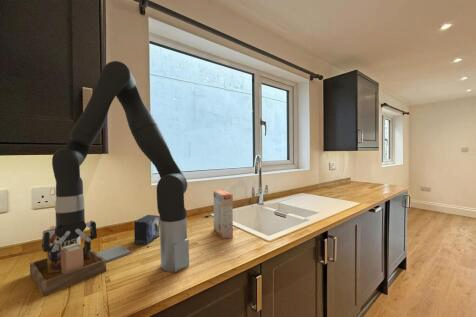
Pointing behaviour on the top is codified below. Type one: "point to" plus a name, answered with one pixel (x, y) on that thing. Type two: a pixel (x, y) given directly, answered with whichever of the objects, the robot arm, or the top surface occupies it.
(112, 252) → the pad
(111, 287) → the top surface
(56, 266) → the candy box
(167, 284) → the top surface
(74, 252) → the labelled block
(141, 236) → the small box
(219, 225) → the cracker box
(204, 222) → the top surface
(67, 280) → the crate
